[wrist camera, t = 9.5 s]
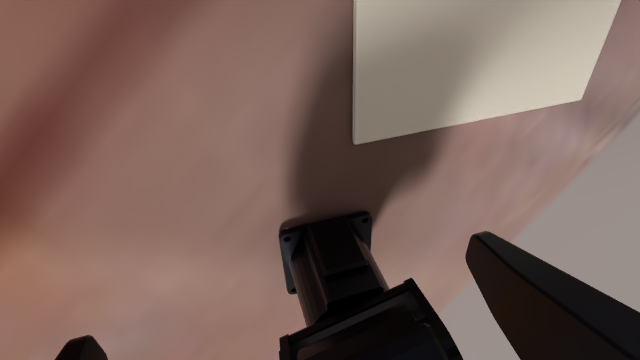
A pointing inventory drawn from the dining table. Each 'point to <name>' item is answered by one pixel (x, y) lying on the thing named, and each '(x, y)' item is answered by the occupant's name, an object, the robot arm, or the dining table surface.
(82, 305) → the dining table surface
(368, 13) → the mat
